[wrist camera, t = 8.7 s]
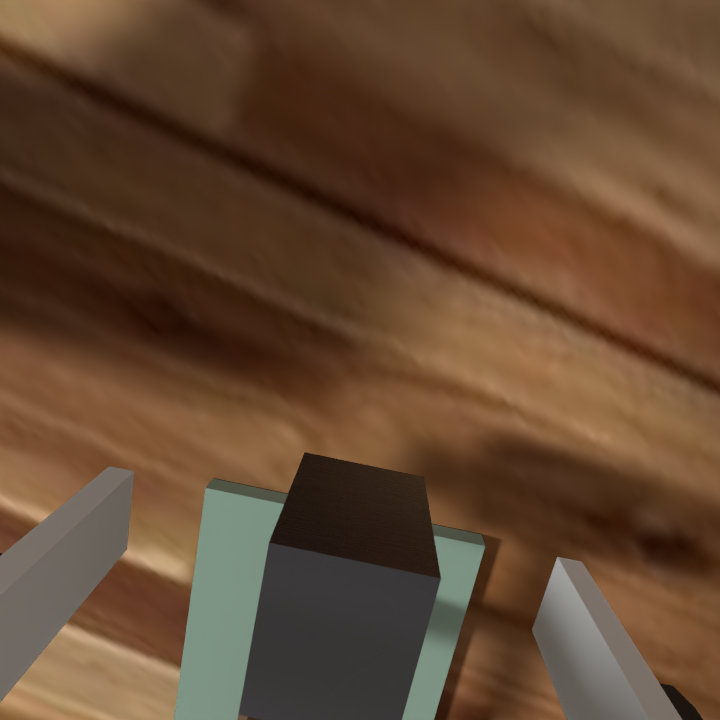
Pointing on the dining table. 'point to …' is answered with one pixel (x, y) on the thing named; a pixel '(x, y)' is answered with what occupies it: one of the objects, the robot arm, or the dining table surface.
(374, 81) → the dining table surface
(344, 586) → the stand
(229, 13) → the dining table surface
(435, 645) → the mat
